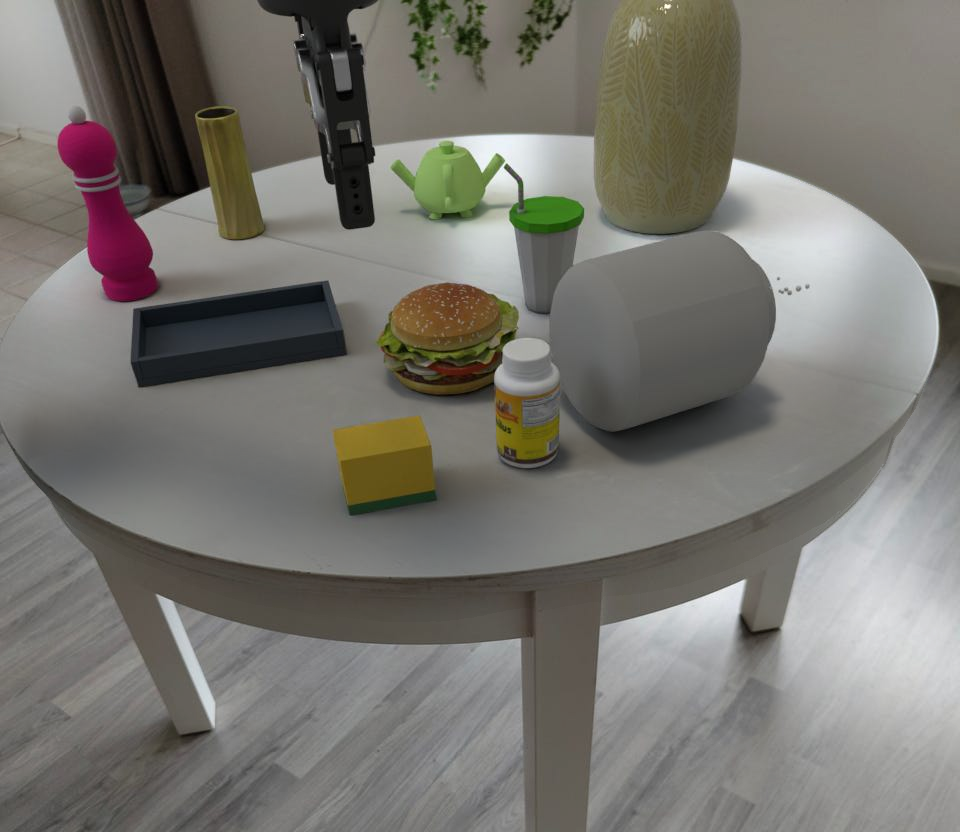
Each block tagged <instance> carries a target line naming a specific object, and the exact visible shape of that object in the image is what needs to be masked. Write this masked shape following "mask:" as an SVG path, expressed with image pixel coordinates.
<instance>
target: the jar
mask: <svg viewBox="0 0 960 832" xmlns="http://www.w3.org/2000/svg"><path fill="white" fill-rule="evenodd" d="M776 280H777V281H780V280H781V277H780V276H777V277H776ZM804 288H805V289H806V290H807V289H810V288H811V286H810V284H809V283H806V284H805V286H804ZM777 291H778V293H779V294H782V295H784V294H785V292H787V293H786V294H787V295H788V296H791V295H793V291H792V290H791V289H789V287H787V286H785V288H784V290H782V289H778V290H777ZM795 291H796V292H800V291H802V286H801V285H797V286H796V287H795ZM776 321H777V307H776V297H775V294H774V289H773V286H772V284H771V281H770V279H769V277H768V275H767V273H766V272H765V270H764V268H762V266H761V265H760V264H759V263H758V262H757V261H755V259H753V258H752V256H750V254H749V252H747V251H746V248H744V247H743V246H742V245H741V244H739V242H737V241H736V240H735V239H734V238H731V237H730V236H728V235H726V234H724V233H722V232H720V231H715V230H699V231H694V232H690V233H687V234H682V235H679V236H675V237H674V236H673V237H671V238H670V237H669V238H666V239H663V240H659V241H655V242H652V243H651V242H650V243H647V244H643V245H639V246H635V247H631V248H627V249H624V250H619V251H615V252H612V253H608V254H604V255H600V256H596V257H593V258H588V259H585V260H582V261H580V262H577V263H575V264H573V266H572V267H571V268H569V269H568V271H567V272H566V273H565V275H564V276H563V277H562V279H561V280H560V282H559V283H558V285H557V288H556V290H555V293H554V297H553V301H552V306H551V312H550V313H549V322H548V327H549V328H548V329H549V331H548V333H549V344H550V352H551V356H552V361H553V364H554V365H555V366H556V367H557V368H558V370H559V373H560V386H561V387H562V389H563V391H564V394H565V395H566V397H567V399H568V400H569V402H570V403H571V405H572V406H573V407H574V408H575V410H576V411H577V412H578V413H579V414H580V416H581V417H582V418H583V419H584V420H585V421H587V422H588V423H589V424H590V425H592V426H594V427H596V428H598V429H600V430H603V431H605V432H619V431H624V430H628V429H631V428H635V427H636V426H638V427H639V426H641V425H644V424H647V423H650V422H653V421H657V420H659V419H663V418H666V417H669V416H672V415H675V414H679V413H681V412H685V411H689V410H692V409H694V408H698V407H701V406H704V405H706V404H711V403H713V402H716V401H719V400H722V399H726V398H729V397H732V396H734V395H736V394H738V393H739V392H741V391H743V390H744V389H745V388H747V387H748V386H749V385H750V383H751V382H752V381H753V380H754V379H755V377H756V376H757V374H758V373H759V371H760V368H761V367H762V364H763V363H764V360H765V356H766V354H767V350H768V346H769V344H770V342H771V341H772V338H773V335H774V332H775V327H776Z"/></svg>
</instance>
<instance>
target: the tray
mask: <svg viewBox="0 0 960 832" xmlns="http://www.w3.org/2000/svg"><path fill="white" fill-rule="evenodd" d="M131 326H132V327H131V328H132V329H131V344H130V345H131V346H130V365H131V368H132V369H131V370H132V371H133V375H134V377H135V381H136V383H137V386H138V388H142V387H147V386H148V387H149V386H155V385H161V384H166V383H172V382H178V381H185V380H193V379H197V378H205V377H211V376H217V375H218V376H219V375H223V374H230V373H237V372H243V371H249V370H250V371H251V370H256V369H262V368H268V367H274V366H281V365H287V364H293V363H294V364H295V363H300V362H307V361H313V360H314V361H315V360H319V359H326V358H331V357H332V358H333V357H337V356H338V357H339V356H344V355H345V356H346V355H347V354H348V353H347V347H346V340H345V334H344V328H343V325H342V322H341V318H340V315H339V312H338V308H337V305H336V301H335V298H334V295H333V291H332V289H331V285H330V282H329V280H328V279H325V280H320V281H312V282H306V283H299V284H292V285H287V286H285V285H284V286H279V287H273V288H265V289H259V290H251V291H246V292H244V291H243V292H237V293H230V294H225V295H217V296H210V297H204V298H196V299H190V300H183V301H177V302H176V301H175V302H168V303H162V304H156V305H147V306H142V307H135V308H133V309H132V324H131Z"/></svg>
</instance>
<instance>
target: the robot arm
mask: <svg viewBox="0 0 960 832" xmlns="http://www.w3.org/2000/svg"><path fill="white" fill-rule="evenodd" d="M256 1H257V3H258V5H259V7H260V8H262V10H263V11H265V12H267V13H269V14H272V15H276V16H280V17H281V16H282V17H288V18H289V17H290V18H292V17H293V18H294V22H295V23H296V26H297V31H298V38H297V39H292V43H293V53H294V57H295V62H296V66H297V71H298V72H299V73H300V79H301V87H302V91H303V96H304V100H305V103H307V104H308V105H309V107H310V108H311V110H310V117H311V120H313V122H314V126H315V129H316V130H317V136H318V143H319V144H318V145H319V151H320V157H321V163H322V168H323V175H324V176H323V177H324V179H325V181H326V183H327V184H328V185H330V186H334V188H335V195H336V202H337V208H338V215H339V222H340V224H341V226H342V228H344V230H347V231H349V230H351V231H352V230H357V229H364V228H365V229H366V228H371V227H372V226H373V225H374V224H375V222H376V216H375V215H376V214H375V208H374V199H373V191H372V185H371V182H372V181H371V175H370V166H369V165H372V164H374V163H375V157H376V149H375V146H373V138H372V131H371V130H372V129H371V121H370V120H371V106H370V101H369V95H368V91H367V85H366V79H365V77H366V76H365V75H366V66H367V65H366V63H367V62H366V57H365V52H364V51H365V50H364V47H363V46H364V45H363V43H362V42H358V36H357V34H356V32H353V33H351V31H350V26H349V22H348V18H349V16H350V13H351V12H352V11H354V10H363V9H367V8H369V7H372V6H373V5H375V4H376V3H377V2H380V0H256ZM351 130H354V131H355V133H356V137H357V141H356V142H355V141H354V142H353V141H352V140H353V139H352V132H351Z"/></svg>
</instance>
